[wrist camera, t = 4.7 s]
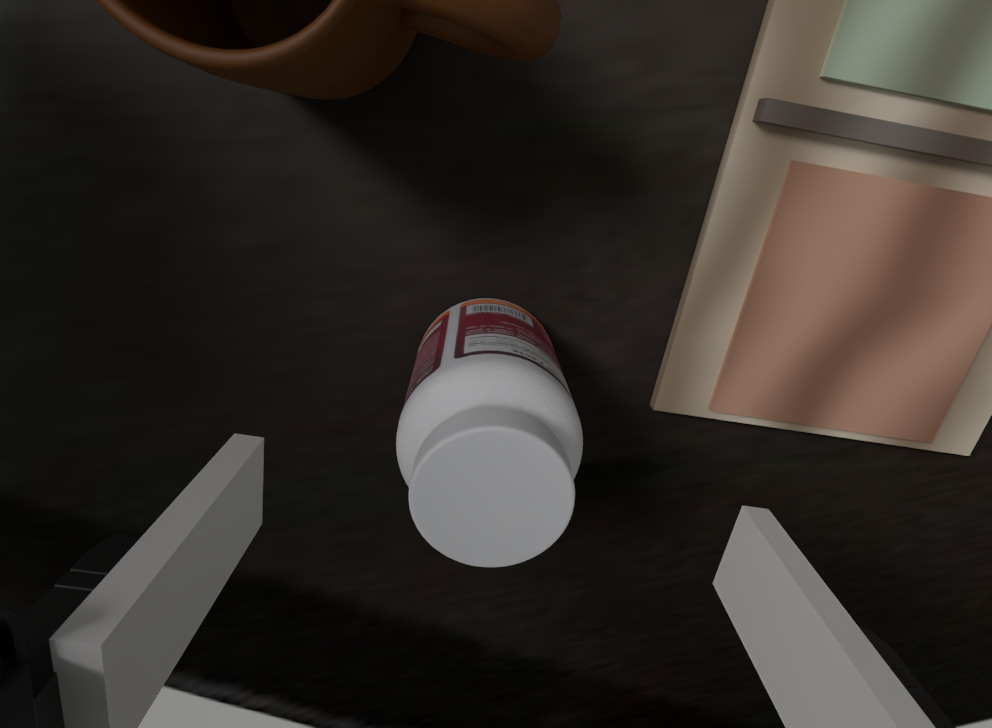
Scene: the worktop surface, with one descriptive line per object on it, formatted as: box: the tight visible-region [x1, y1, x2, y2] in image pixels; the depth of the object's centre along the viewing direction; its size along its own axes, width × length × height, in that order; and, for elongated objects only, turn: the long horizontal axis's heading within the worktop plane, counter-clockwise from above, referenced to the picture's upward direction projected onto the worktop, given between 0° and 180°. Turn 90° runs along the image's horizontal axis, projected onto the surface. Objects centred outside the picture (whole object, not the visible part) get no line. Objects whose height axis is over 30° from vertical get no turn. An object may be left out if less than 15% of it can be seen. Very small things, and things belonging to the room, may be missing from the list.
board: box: [650, 0, 992, 456], centre depth 22 cm, size 16×26×1 cm, turn 171°
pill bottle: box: [396, 298, 583, 567], centre depth 21 cm, size 6×6×11 cm
